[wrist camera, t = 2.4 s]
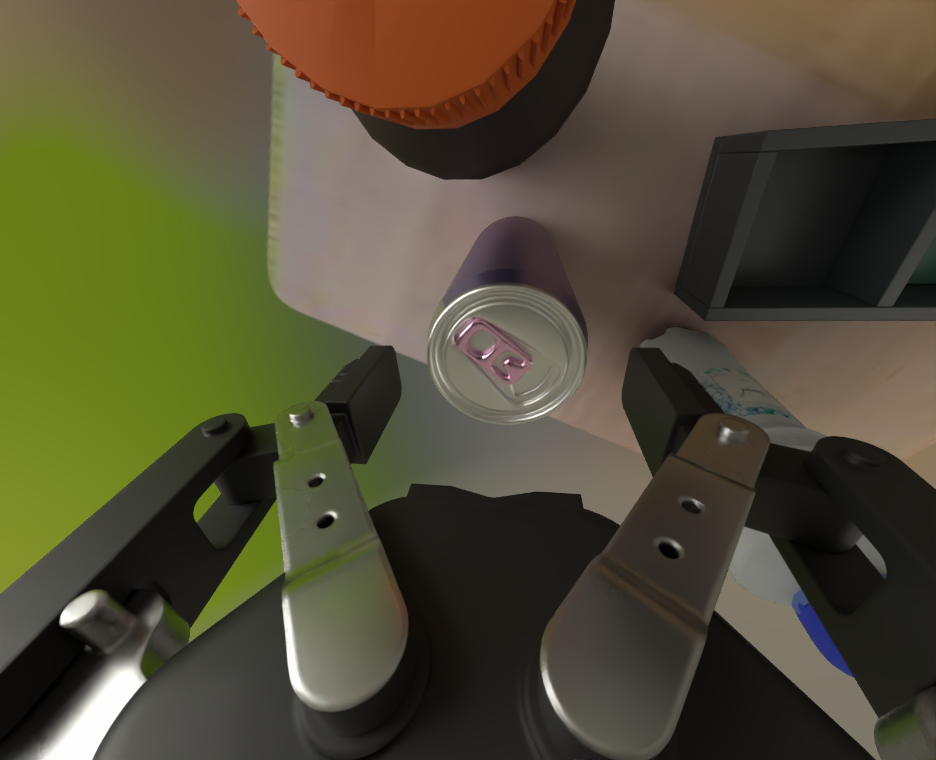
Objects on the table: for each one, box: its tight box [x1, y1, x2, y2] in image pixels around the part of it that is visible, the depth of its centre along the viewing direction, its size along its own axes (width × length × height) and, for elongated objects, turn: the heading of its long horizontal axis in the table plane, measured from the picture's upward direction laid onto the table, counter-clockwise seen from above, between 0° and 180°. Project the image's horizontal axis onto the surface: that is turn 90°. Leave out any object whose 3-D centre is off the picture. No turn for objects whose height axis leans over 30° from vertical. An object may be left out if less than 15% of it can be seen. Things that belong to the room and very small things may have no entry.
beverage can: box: [427, 217, 588, 425], centre depth 18 cm, size 6×6×15 cm
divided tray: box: [674, 119, 936, 321], centre depth 19 cm, size 9×17×5 cm, turn 93°
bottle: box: [640, 327, 887, 677], centre depth 19 cm, size 7×7×20 cm
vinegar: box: [235, 0, 615, 180], centre depth 12 cm, size 7×7×20 cm
